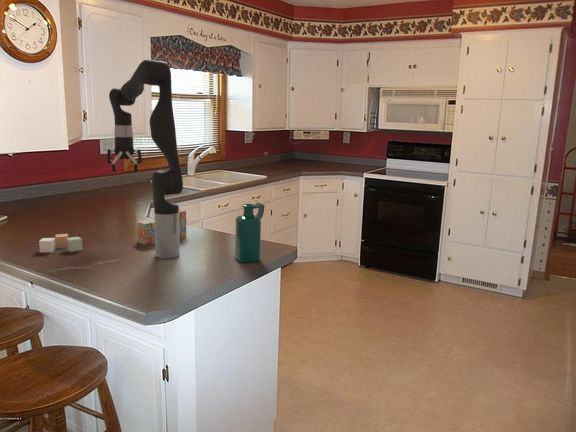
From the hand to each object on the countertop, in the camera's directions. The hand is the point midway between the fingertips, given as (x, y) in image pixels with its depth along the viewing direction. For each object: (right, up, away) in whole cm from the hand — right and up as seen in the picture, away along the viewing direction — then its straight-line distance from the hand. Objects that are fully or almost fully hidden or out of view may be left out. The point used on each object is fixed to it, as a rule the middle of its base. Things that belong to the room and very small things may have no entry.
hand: (125, 172), depth 210 cm
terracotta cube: (-18, -31, -20) cm, 42 cm away
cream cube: (-21, -33, -27) cm, 47 cm away
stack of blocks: (+17, -30, -2) cm, 34 cm away
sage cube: (-12, -32, -24) cm, 42 cm away
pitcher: (+57, -36, -26) cm, 73 cm away
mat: (-17, -33, -23) cm, 44 cm away
